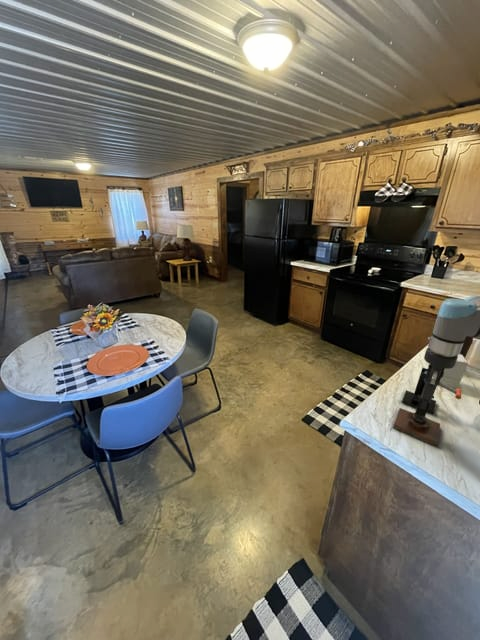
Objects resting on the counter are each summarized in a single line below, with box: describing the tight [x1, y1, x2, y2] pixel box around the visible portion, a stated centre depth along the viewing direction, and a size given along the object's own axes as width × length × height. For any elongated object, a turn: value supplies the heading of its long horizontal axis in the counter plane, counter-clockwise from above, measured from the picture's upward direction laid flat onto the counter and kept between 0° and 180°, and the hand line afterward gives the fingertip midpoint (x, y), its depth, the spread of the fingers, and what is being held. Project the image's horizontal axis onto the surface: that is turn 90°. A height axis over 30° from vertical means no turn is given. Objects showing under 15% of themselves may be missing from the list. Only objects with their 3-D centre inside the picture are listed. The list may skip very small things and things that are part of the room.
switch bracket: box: [401, 367, 437, 416], centre depth 97 cm, size 10×8×14 cm
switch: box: [424, 371, 463, 400], centre depth 93 cm, size 12×5×2 cm, turn 51°
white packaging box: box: [440, 354, 469, 390], centre depth 109 cm, size 7×7×13 cm
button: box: [412, 412, 427, 424], centre depth 86 cm, size 4×4×2 cm
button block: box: [392, 407, 441, 447], centre depth 87 cm, size 12×10×4 cm
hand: (420, 414), depth 86 cm, fingers closed
